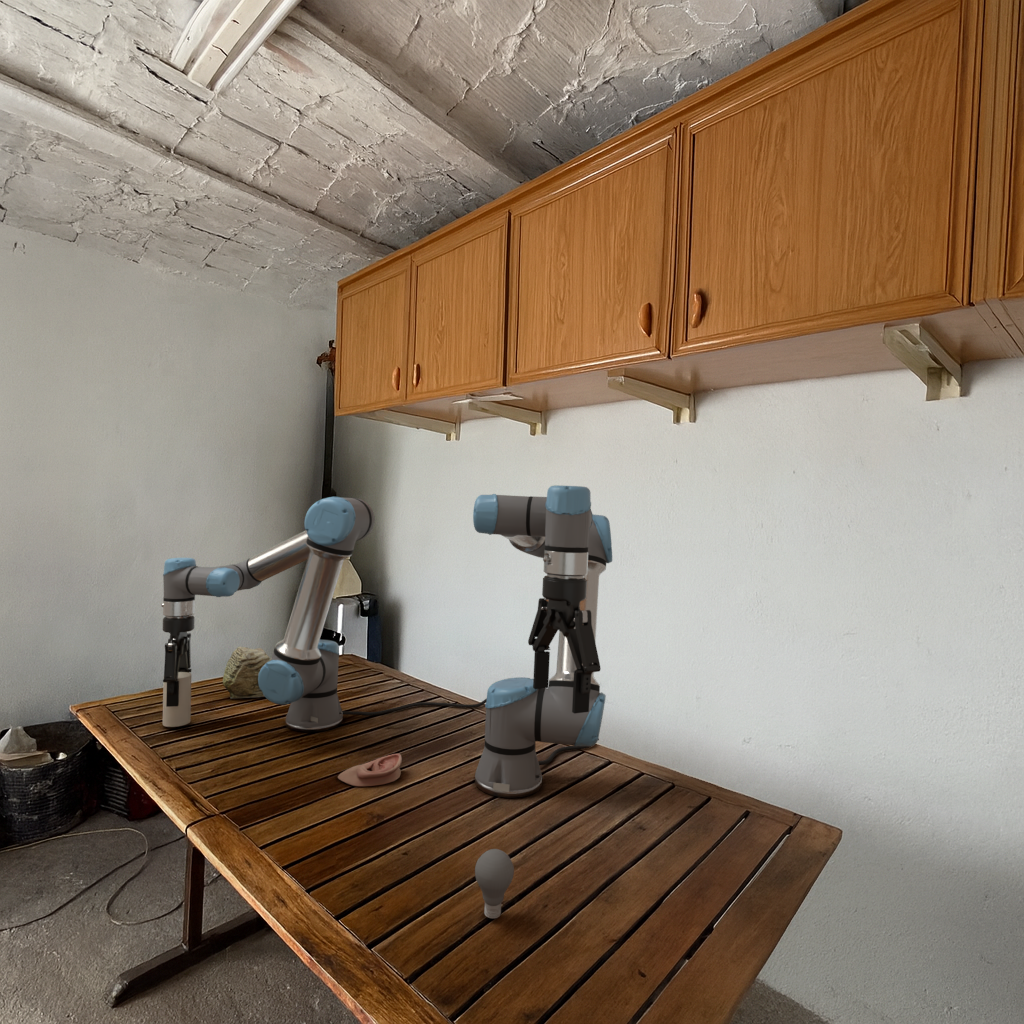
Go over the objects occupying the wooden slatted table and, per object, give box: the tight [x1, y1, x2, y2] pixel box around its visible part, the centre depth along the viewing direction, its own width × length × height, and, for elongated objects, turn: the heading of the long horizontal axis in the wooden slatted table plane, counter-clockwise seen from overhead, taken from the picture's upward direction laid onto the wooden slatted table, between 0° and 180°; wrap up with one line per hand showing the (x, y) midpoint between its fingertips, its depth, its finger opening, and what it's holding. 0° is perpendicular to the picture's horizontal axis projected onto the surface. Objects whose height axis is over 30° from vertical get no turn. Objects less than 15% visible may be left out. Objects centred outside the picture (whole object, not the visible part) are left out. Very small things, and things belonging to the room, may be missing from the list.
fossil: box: [222, 646, 272, 699], centre depth 198 cm, size 9×18×15 cm, turn 132°
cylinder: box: [162, 672, 192, 728], centre depth 169 cm, size 7×7×13 cm
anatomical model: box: [337, 753, 403, 787], centre depth 144 cm, size 13×4×12 cm
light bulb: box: [474, 848, 515, 919], centre depth 98 cm, size 6×6×10 cm
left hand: (177, 701), depth 169 cm, fingers closed on cylinder, 7 cm apart
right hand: (559, 699), depth 109 cm, fingers open, 13 cm apart
